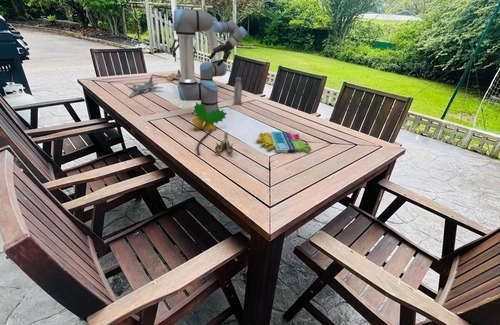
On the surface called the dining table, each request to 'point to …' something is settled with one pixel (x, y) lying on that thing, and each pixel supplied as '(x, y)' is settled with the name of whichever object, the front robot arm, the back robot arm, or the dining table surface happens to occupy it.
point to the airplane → (143, 87)
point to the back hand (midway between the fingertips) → (213, 62)
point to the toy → (173, 76)
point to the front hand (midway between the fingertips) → (184, 61)
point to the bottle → (237, 93)
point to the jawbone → (224, 145)
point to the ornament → (207, 117)
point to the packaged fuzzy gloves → (283, 142)
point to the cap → (238, 79)
